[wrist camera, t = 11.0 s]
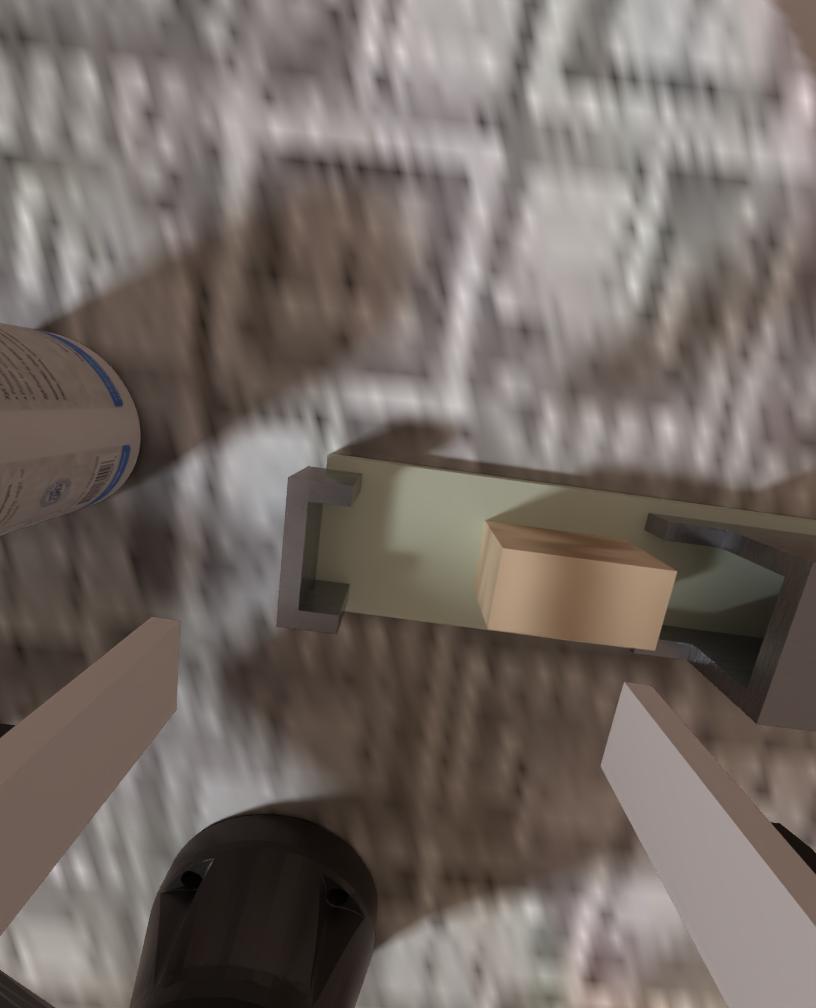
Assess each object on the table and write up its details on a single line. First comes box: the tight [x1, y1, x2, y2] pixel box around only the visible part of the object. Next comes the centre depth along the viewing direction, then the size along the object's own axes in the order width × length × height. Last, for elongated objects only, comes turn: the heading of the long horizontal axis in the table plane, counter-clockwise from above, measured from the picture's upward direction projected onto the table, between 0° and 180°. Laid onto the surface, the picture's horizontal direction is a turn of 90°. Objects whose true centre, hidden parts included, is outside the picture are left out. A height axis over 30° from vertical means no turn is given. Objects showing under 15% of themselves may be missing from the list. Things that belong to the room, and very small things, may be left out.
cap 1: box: [276, 466, 363, 634], centre depth 23 cm, size 3×8×4 cm, turn 172°
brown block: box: [473, 521, 677, 651], centre depth 23 cm, size 8×4×5 cm, turn 82°
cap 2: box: [628, 513, 816, 731], centre depth 22 cm, size 10×8×7 cm
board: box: [316, 453, 816, 648], centre depth 26 cm, size 28×9×1 cm, turn 82°
